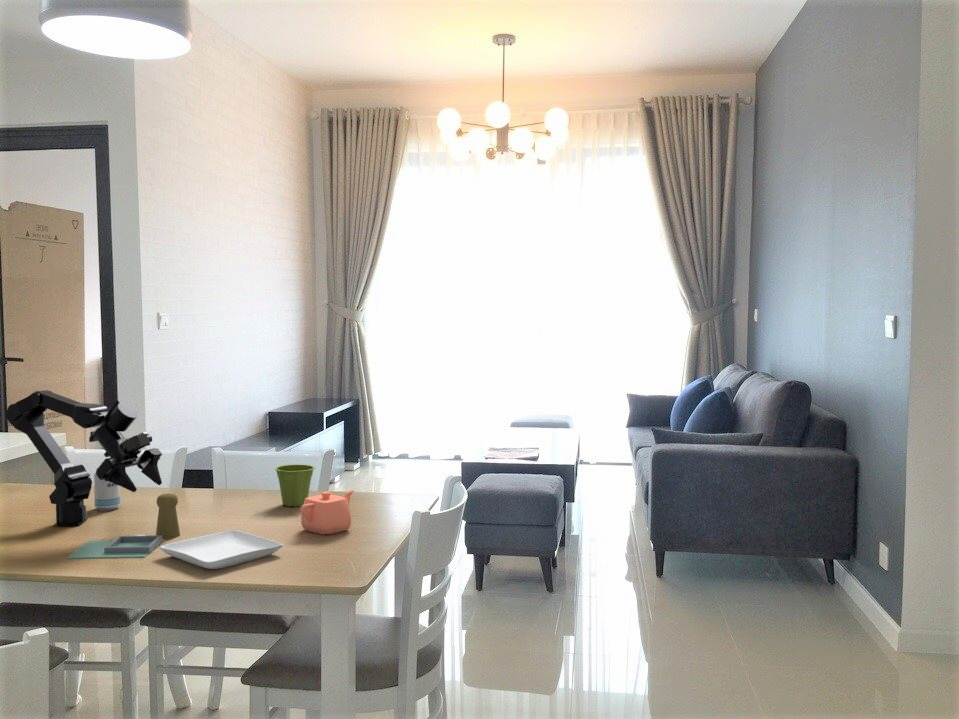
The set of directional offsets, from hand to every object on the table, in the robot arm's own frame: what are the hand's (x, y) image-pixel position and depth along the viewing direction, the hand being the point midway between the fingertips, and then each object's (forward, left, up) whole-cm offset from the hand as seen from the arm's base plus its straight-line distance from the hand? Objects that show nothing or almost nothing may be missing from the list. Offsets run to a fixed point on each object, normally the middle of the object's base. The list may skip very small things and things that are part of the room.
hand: (148, 487), depth 224 cm
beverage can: (-20, +28, -12) cm, 37 cm away
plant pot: (+34, +31, -12) cm, 48 cm away
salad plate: (+24, -22, -13) cm, 34 cm away
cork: (+6, -3, -12) cm, 14 cm away
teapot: (+47, +1, -12) cm, 48 cm away
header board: (-3, -15, -12) cm, 19 cm away
